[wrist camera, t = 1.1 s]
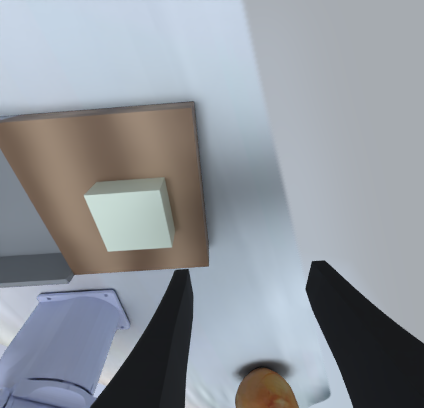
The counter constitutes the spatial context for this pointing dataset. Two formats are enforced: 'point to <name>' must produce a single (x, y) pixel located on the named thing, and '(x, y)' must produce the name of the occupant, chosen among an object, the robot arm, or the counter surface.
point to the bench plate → (110, 178)
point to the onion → (265, 391)
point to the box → (25, 238)
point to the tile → (132, 213)
